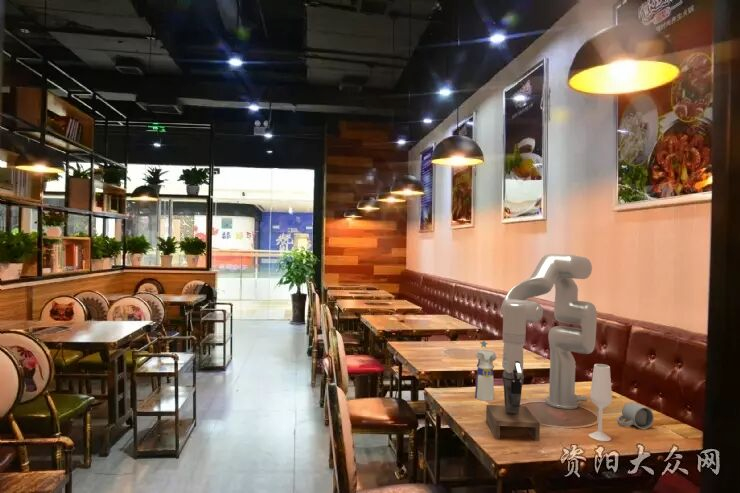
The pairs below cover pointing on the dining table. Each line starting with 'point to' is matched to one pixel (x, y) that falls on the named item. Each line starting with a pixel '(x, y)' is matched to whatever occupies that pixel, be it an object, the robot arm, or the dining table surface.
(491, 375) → the water bottle
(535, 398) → the dining table surface
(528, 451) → the dining table surface
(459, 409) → the dining table surface
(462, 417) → the dining table surface
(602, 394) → the champagne flute
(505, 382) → the beverage cup
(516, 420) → the walnut shelf
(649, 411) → the ceramic mug
